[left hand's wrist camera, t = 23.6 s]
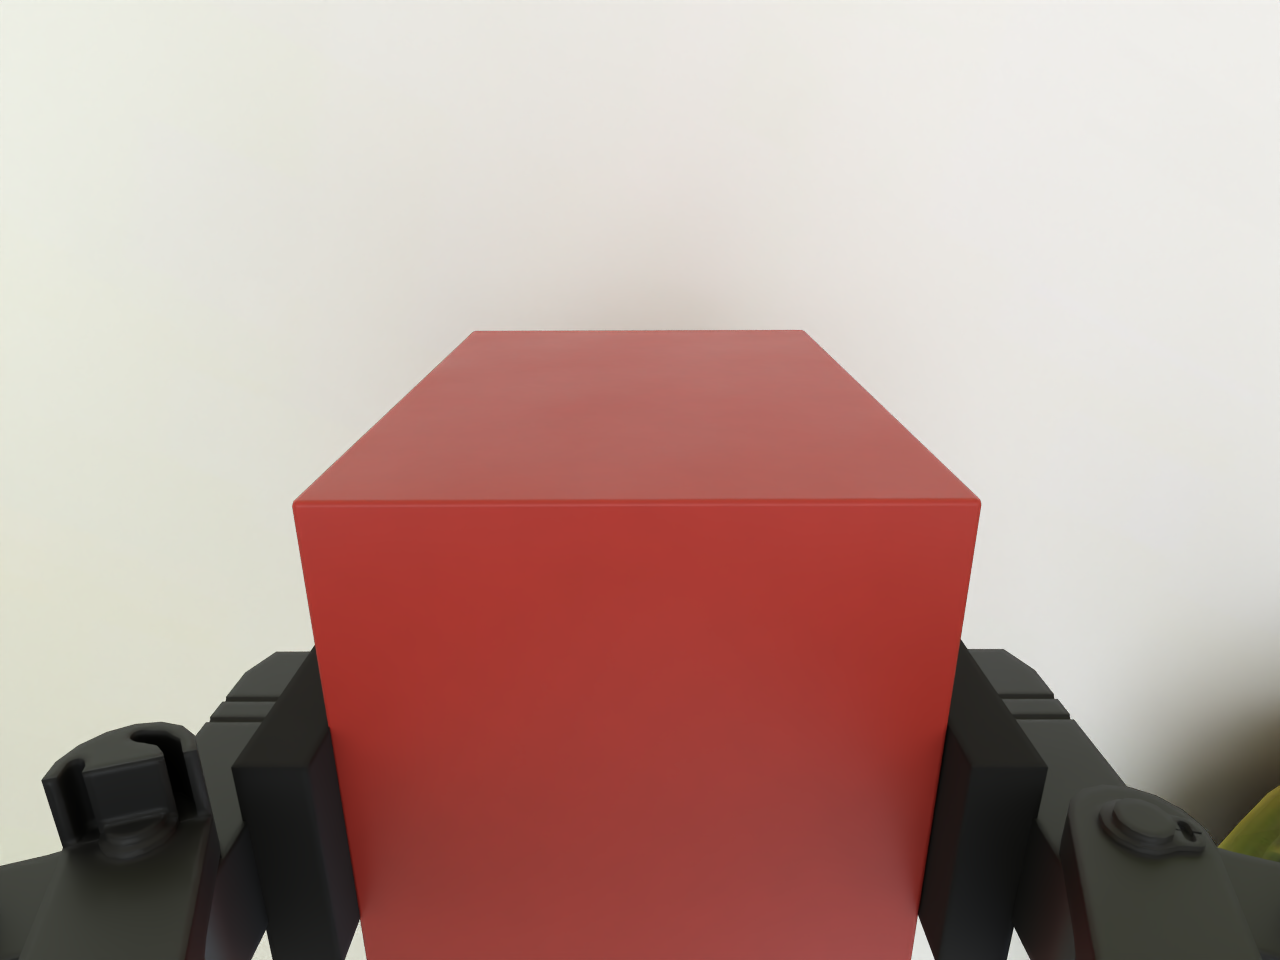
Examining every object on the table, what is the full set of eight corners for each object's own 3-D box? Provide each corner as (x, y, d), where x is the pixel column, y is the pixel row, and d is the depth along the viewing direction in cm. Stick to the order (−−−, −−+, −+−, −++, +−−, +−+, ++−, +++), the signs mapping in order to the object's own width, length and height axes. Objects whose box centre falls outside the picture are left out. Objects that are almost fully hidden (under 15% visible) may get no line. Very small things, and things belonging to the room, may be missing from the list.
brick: (782, 659, 19) (898, 1055, 10) (497, 659, 19) (380, 1056, 10) (804, 329, 16) (984, 500, 8) (472, 330, 16) (289, 502, 8)
